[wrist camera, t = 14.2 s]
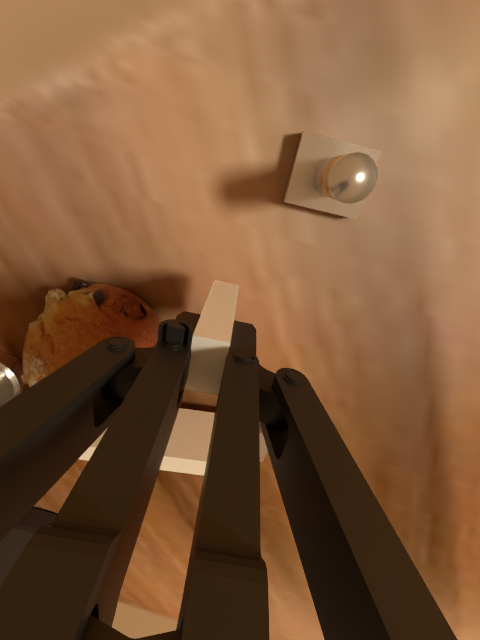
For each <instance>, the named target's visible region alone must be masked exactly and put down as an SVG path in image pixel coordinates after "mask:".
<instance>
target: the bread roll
mask: <svg viewBox="0 0 480 640" xmlns="http://www.w3.org/2000/svg"><path fill="white" fill-rule="evenodd" d="M45 301H46V306H45V308H44V312H43V313H41V314H40V315H39V316H38V319H37V320H35V321H33V322H31V323H30V324H29V327H28V332H27V335H26V339H25V343H24V348H23V373H24V376H25V379H26V381H27V383H28V385H29V387H31V386H33V385H34V384H36V383H37V382H39V381H40V380H42V379H43V378H45V377H47V376H48V375H50V374H51V373H53V372H54V371H56V370H57V369H59V368H60V367H62V366H63V365H65V364H66V363H68V362H70V361H71V360H73V359H74V358H76V357H77V356H79V355H80V354H82V353H83V352H85V351H86V350H88V349H89V348H91V347H92V346H94V345H96V344H97V343H99V342H100V341H102V340H104V339H106V338H108V337H114V336H122V337H127V338H129V339H131V340H133V341H134V342H135V348H146V347H153V346H155V345H156V344H157V340H158V328H159V324H160V323H161V321H160V319H159V317H158V315H157V314H156V313H155V312H154V311H153V310H152V309H151V308H150V307H149V306H148V305H147V304H146V303H145V302H144V301H142V300H141V299H140V298H139V297H137V296H136V295H135V294H133V293H131V292H129V291H127V290H125V289H122V288H119V287H116V286H111V285H108V284H98V283H96V284H93V283H88V282H86V281H84V280H82V279H78V280H77V281H76V282H75V284H74V286H73V287H72V291H70V292H68V294H67V293H65V292H64V291H62V290H61V289H58V288H56V289H52V290H49V291H48V294H47V295H46V297H45Z"/></svg>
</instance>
